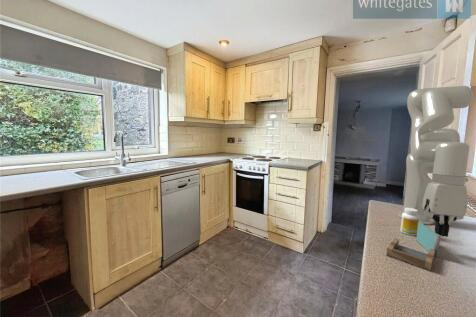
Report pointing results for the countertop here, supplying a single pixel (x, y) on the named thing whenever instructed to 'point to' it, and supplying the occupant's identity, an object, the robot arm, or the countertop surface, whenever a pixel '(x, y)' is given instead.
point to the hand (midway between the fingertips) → (441, 234)
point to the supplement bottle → (409, 222)
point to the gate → (428, 238)
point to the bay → (410, 255)
